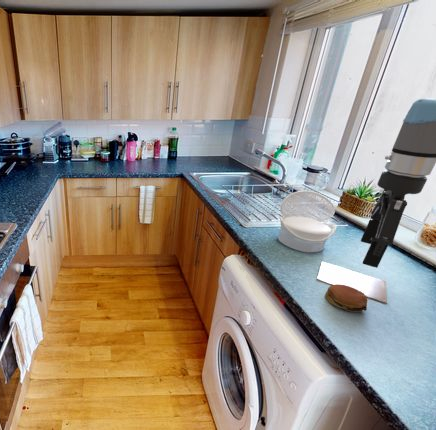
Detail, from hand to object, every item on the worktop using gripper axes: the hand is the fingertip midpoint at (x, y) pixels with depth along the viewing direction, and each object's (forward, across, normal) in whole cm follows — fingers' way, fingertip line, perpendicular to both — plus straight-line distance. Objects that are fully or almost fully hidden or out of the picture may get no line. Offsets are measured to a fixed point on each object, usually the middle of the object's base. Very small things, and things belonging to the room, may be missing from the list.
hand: (368, 253), depth 73 cm
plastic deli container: (+21, -41, -15) cm, 48 cm away
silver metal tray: (+21, -22, +3) cm, 30 cm away
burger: (+21, -7, +1) cm, 22 cm away
